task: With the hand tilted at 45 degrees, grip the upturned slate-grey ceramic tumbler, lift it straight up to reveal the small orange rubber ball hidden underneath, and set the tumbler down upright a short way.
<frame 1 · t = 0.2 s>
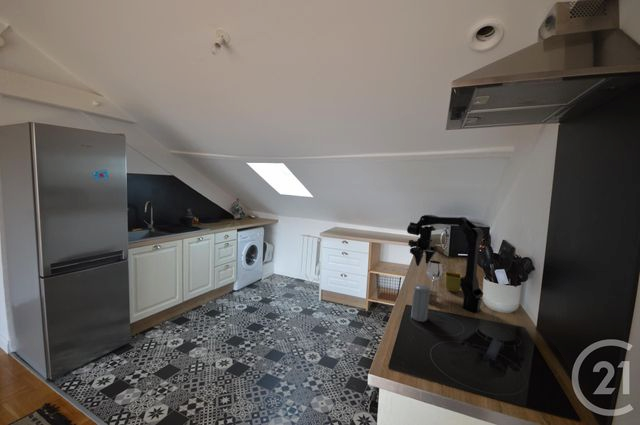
hand: (422, 264, 157), 15 cm above the counter, tool pointing down, fingers open, 9 cm apart
tumbler: (418, 317, 125), on the counter
wineglass: (431, 294, 153), on the counter
ball: (419, 314, 124), point 2 cm above the counter
flower pot: (451, 290, 160), on the counter
walnut block: (430, 301, 143), on the counter
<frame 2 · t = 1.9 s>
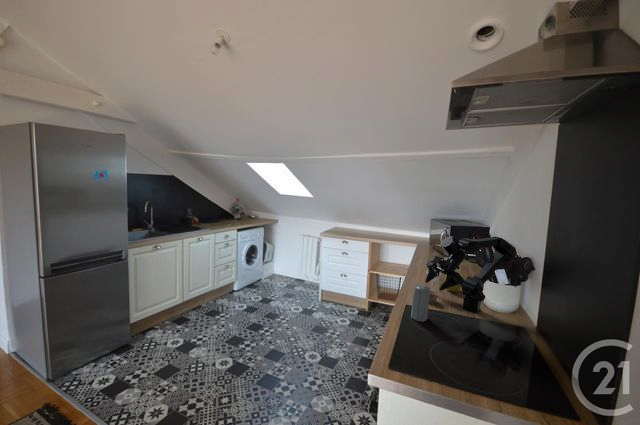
hand: (432, 286, 127), 13 cm above the counter, tool tilted 40°, fingers open, 9 cm apart
nothing on the counter moved.
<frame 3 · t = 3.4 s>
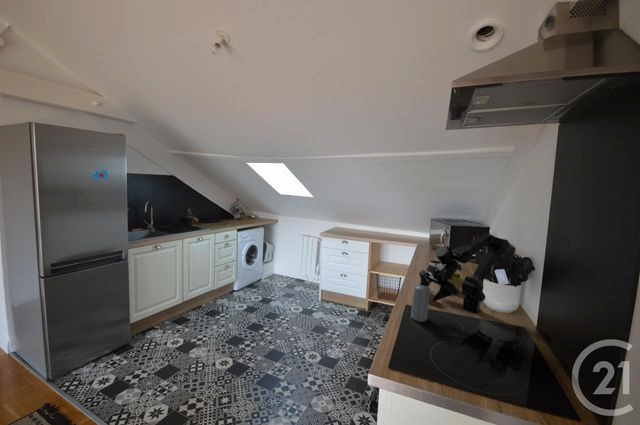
hand: (425, 296, 124), 10 cm above the counter, tool tilted 45°, fingers open, 9 cm apart
nothing on the counter moved.
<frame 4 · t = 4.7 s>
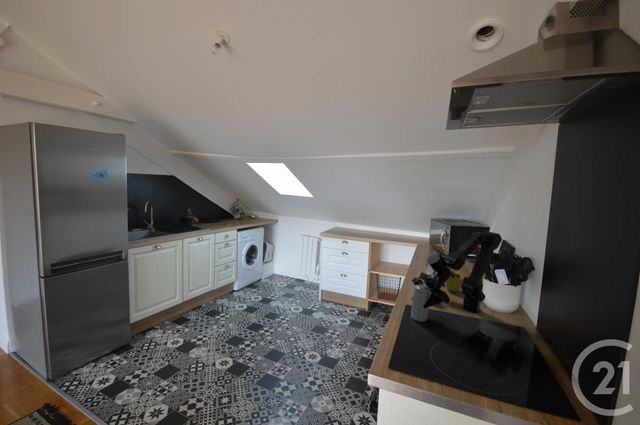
hand: (417, 304, 123), 7 cm above the counter, tool tilted 45°, fingers closed on tumbler, 7 cm apart
tumbler: (418, 317, 125), on the counter, touching gripper
everything else where it was.
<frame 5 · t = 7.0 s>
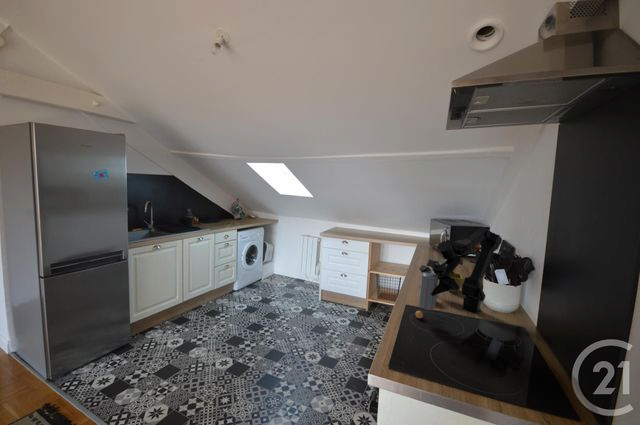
hand: (425, 291, 120), 13 cm above the counter, tool tilted 45°, fingers closed on tumbler, 7 cm apart
tumbler: (426, 306, 121), point 7 cm above the counter, touching gripper
everything else where it was.
when the fingers open (8 cm above the counter, at t = 9.4 s): tumbler drops 1 cm, on the counter.
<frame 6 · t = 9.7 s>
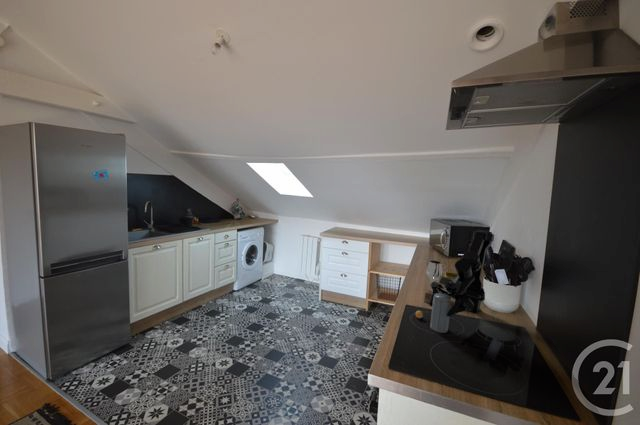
hand: (438, 310, 115), 8 cm above the counter, tool tilted 45°, fingers open, 9 cm apart
tumbler: (438, 328, 116), on the counter
everything else where it was.
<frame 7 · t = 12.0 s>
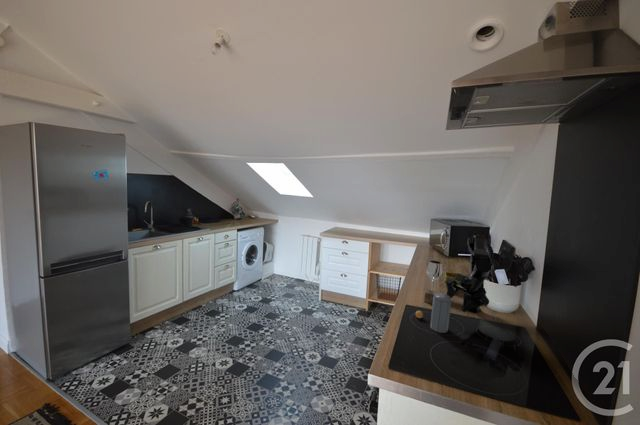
hand: (453, 306, 119), 9 cm above the counter, tool tilted 45°, fingers open, 9 cm apart
nothing on the counter moved.
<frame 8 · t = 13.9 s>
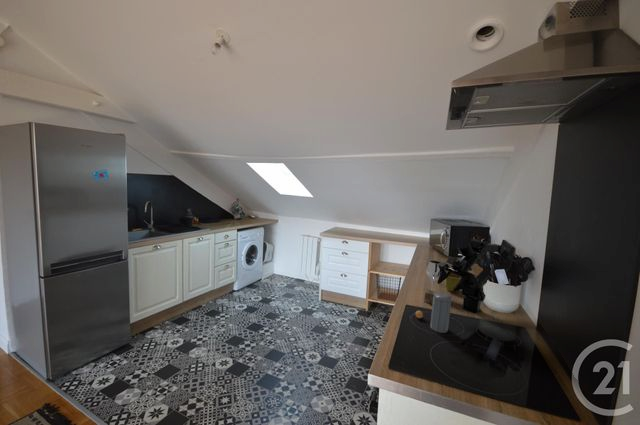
hand: (445, 287, 126), 14 cm above the counter, tool tilted 45°, fingers open, 9 cm apart
nothing on the counter moved.
at the end: tumbler inside the target area (0.1 cm from its centre), on the counter; tumbler tilted 0°; the gripper is holding nothing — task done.
